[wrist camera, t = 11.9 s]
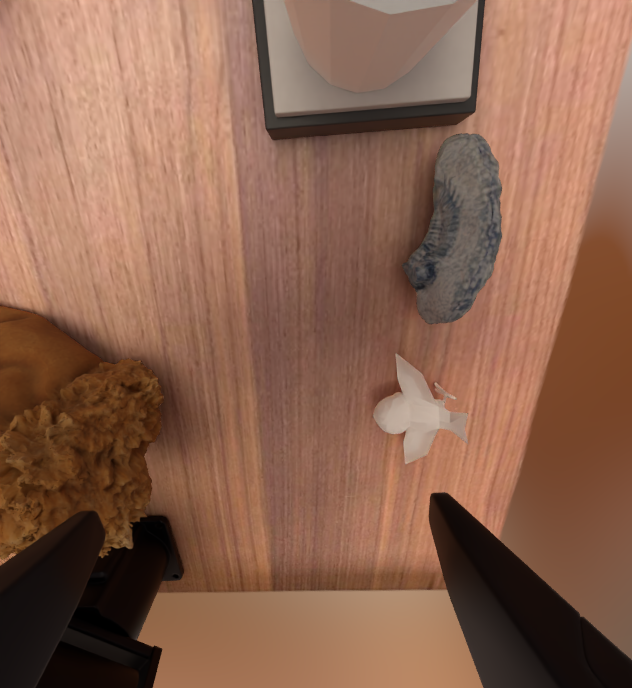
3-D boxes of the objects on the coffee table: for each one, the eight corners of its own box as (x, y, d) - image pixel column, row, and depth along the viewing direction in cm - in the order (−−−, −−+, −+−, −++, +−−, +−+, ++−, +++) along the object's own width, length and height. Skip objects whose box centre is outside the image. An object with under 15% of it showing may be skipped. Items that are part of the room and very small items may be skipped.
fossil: (409, 144, 16) (447, 115, 12) (479, 148, 16) (545, 119, 12) (389, 309, 19) (412, 338, 14) (448, 311, 19) (490, 341, 15)
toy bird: (356, 353, 19) (404, 384, 15) (422, 332, 21) (483, 355, 16) (371, 461, 22) (415, 513, 18) (428, 437, 23) (481, 480, 19)
